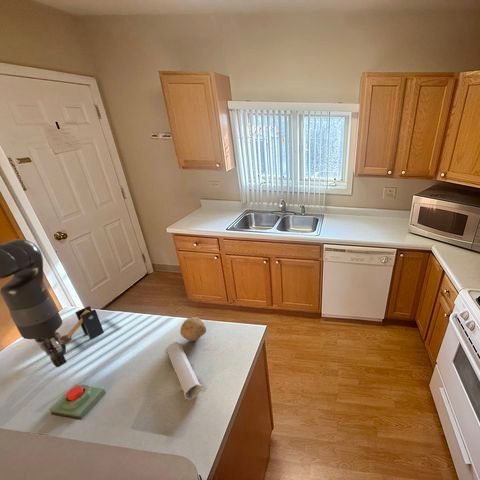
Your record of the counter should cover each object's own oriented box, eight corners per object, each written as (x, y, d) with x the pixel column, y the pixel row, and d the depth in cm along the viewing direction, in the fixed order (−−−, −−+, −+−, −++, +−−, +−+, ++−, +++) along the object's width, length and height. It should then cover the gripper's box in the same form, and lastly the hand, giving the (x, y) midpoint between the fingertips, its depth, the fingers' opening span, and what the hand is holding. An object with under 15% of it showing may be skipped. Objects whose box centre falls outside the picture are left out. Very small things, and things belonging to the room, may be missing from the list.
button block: (51, 413, 75) (46, 404, 74) (78, 388, 83) (74, 380, 81) (81, 419, 74) (77, 410, 73) (106, 393, 82) (102, 384, 80)
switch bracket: (83, 351, 96) (72, 325, 91) (70, 341, 100) (59, 315, 95) (118, 331, 106) (110, 306, 101) (105, 323, 110) (96, 298, 105)
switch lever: (68, 347, 94) (58, 345, 91) (63, 343, 95) (54, 341, 93) (96, 314, 100) (87, 311, 97) (91, 311, 101) (83, 308, 98)
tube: (161, 346, 95) (181, 394, 78) (175, 336, 98) (197, 381, 81) (169, 353, 98) (189, 402, 81) (182, 344, 101) (205, 389, 84)
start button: (64, 400, 76) (62, 396, 75) (76, 388, 79) (74, 385, 78) (75, 401, 75) (73, 398, 75) (87, 390, 79) (85, 386, 78)
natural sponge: (178, 338, 104) (174, 318, 100) (200, 327, 110) (196, 308, 106) (187, 350, 99) (183, 330, 95) (209, 338, 105) (206, 319, 101)
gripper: (4, 314, 65) (32, 363, 71) (26, 334, 59) (53, 385, 66) (44, 299, 71) (66, 345, 78) (67, 315, 65) (88, 364, 72)
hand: (60, 363), depth 72 cm, fingers closed
